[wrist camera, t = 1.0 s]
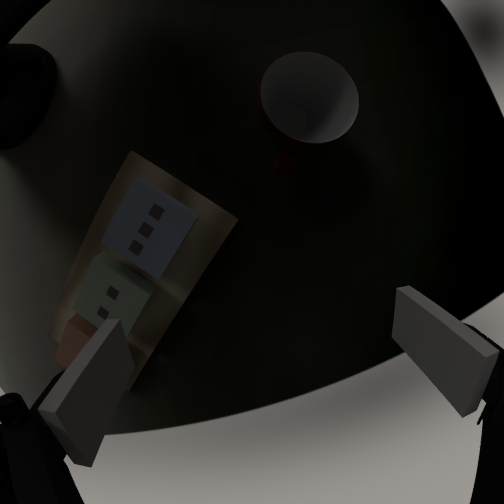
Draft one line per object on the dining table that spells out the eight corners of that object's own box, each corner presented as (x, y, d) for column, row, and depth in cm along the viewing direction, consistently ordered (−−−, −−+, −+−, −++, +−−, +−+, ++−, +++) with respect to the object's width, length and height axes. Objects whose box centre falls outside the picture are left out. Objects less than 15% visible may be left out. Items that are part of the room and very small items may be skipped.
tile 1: (64, 349, 32) (54, 359, 29) (77, 311, 31) (67, 321, 28) (106, 378, 33) (99, 390, 30) (124, 344, 32) (116, 356, 29)
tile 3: (112, 235, 29) (101, 240, 26) (143, 178, 28) (134, 178, 25) (165, 271, 30) (158, 280, 28) (200, 215, 29) (196, 218, 26)
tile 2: (82, 299, 31) (71, 308, 28) (104, 251, 29) (93, 257, 27) (130, 332, 32) (123, 344, 29) (156, 286, 31) (149, 296, 28)
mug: (318, 183, 31) (352, 184, 22) (245, 173, 31) (248, 169, 21) (328, 93, 29) (362, 63, 19) (256, 81, 29) (264, 42, 19)
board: (50, 333, 34) (42, 341, 32) (133, 151, 30) (125, 149, 27) (130, 387, 36) (125, 398, 34) (238, 219, 32) (238, 222, 29)
